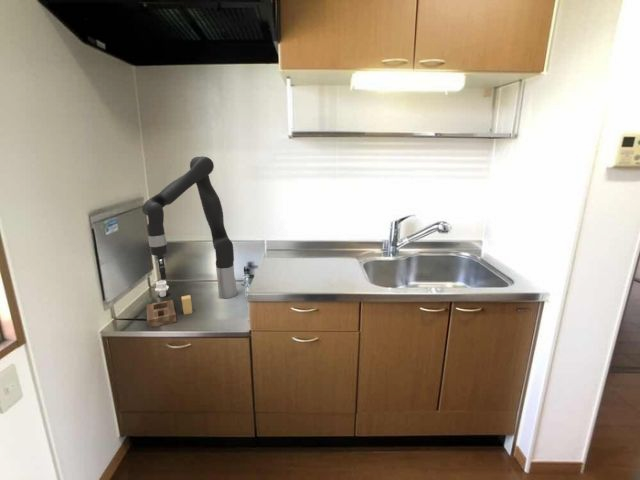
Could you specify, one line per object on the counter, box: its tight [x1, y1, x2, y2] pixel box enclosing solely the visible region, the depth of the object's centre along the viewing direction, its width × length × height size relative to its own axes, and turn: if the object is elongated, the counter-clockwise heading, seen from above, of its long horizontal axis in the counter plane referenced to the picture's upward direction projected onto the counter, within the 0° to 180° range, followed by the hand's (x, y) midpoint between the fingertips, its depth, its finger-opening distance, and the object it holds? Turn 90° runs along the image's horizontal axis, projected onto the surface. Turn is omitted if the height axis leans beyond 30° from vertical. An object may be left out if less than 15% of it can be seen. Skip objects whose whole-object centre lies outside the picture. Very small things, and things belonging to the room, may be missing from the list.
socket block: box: [146, 299, 177, 329], centre depth 169 cm, size 12×18×4 cm, turn 26°
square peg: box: [180, 294, 193, 315], centre depth 173 cm, size 4×4×8 cm
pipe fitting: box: [154, 280, 170, 298], centre depth 192 cm, size 6×7×8 cm
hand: (163, 276), depth 168 cm, fingers open, 8 cm apart
